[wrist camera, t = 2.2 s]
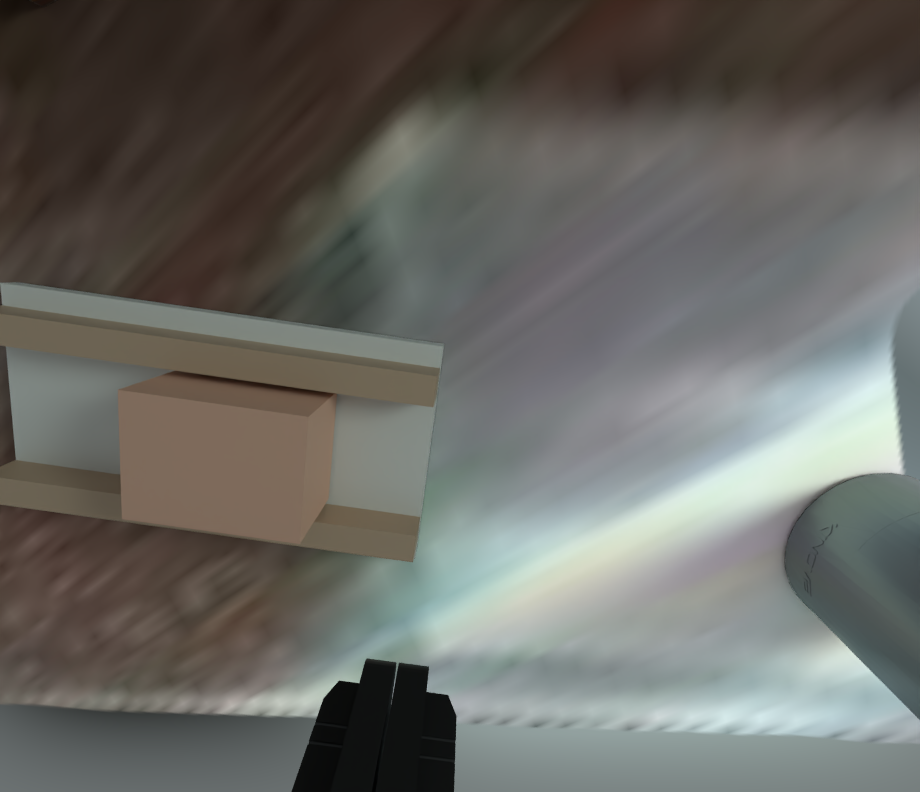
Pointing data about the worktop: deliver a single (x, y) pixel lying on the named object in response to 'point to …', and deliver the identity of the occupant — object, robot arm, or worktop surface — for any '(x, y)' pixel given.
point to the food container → (43, 2)
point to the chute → (223, 355)
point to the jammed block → (225, 455)
